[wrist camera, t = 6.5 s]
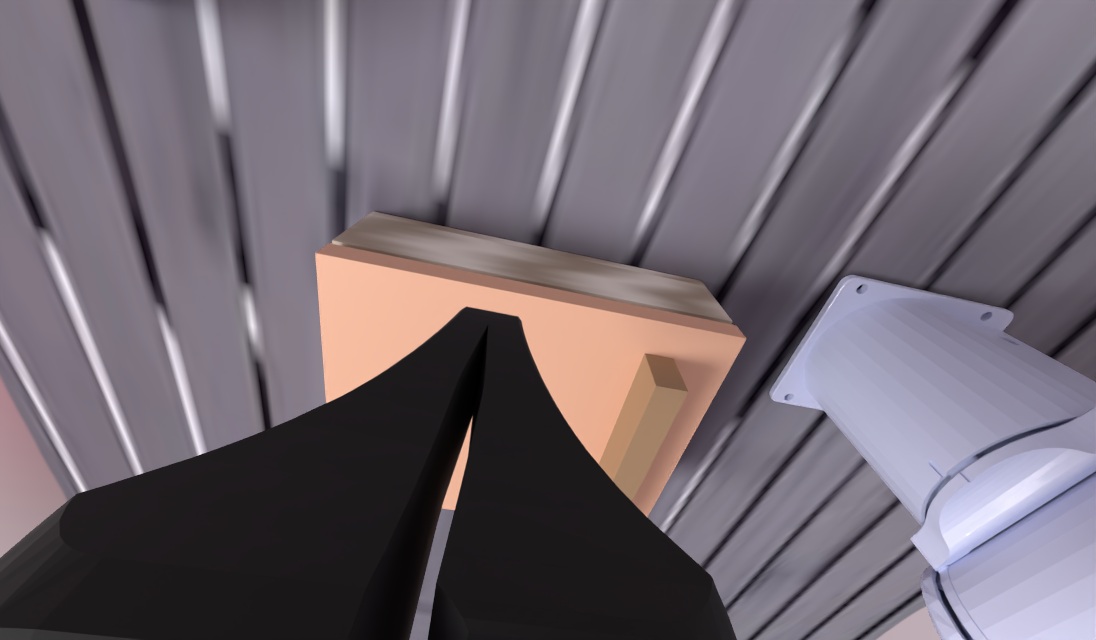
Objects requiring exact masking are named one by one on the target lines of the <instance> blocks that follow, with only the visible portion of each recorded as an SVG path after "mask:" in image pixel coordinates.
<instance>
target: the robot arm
mask: <svg viewBox="0 0 1096 640" xmlns="http://www.w3.org/2000/svg"><path fill="white" fill-rule="evenodd" d="M862 284H863V285H862ZM860 285H862V287H861V288H860V289H858V290H857V288H858V287H859V286H860ZM1013 317H1014V314H1013V313H1012V312H1011V311H1009V310H1006V309H1004V308H1000V307H996V306H991V305H987V304H982V303H978V302H973V301H969V300H964V299H960V298H955V297H951V296H946V295H942V294H937V293H933V292H928V291H924V290H919V289H915V288H910V287H906V286H901V285H897V284H893V283H888V282H884V281H879V280H875V279H870V278H866V277H861V276H857V275H848V276H846V277H844V278H843V279H841V281H840V282H839V283H838V285H837V286H836V288H835V289H834V291H833V293H832V294H831V296H830V297H829V299H828V300H827V302H826V304H825V305H824V307H823V308H822V310H821V311H820V313H819V314H818V316H817V318H816V319H815V321H814V322H813V324H812V325H811V327H810V329H809V330H808V332H807V333H806V335H805V336H804V338H803V339H802V341H801V343H800V344H799V346H798V347H797V349H796V350H795V352H794V354H793V355H792V357H791V358H790V360H789V361H788V363H787V364H786V366H785V368H784V369H783V371H782V372H781V374H780V375H779V377H778V379H777V380H776V382H775V383H774V385H773V386H772V388H771V390H770V392H769V395H770V397H771V398H772V399H773V401H776V402H781V403H786V404H792V405H797V406H803V407H808V408H814V409H819V410H824V411H825V412H826V413H827V415H828V416H829V417H830V418H831V419H832V421H833V422H834V423H835V424H836V425H837V426H838V428H839V429H840V430H841V431H842V432H843V434H844V435H845V436H846V437H847V438H848V440H849V441H850V442H851V443H852V444H853V445H854V447H855V448H856V449H857V450H858V451H859V453H860V454H861V455H862V456H863V457H864V458H865V460H866V461H867V462H868V463H869V464H870V466H871V467H872V468H873V469H874V470H875V472H876V473H877V474H878V475H879V476H880V477H881V479H882V480H883V481H884V482H885V483H886V485H887V486H888V487H889V488H890V489H891V491H892V492H893V493H894V494H895V495H896V496H897V498H898V499H899V500H900V501H901V502H902V504H903V505H904V506H905V507H906V508H907V509H908V511H909V512H910V513H911V514H912V515H913V517H914V518H915V519H916V520H917V521H918V523H919V524H920V525H921V526H922V527H921V529H920V530H919V531H918V532H917V533H915V534H914V535H913V536H912V537H911V541H912V542H913V543H914V545H915V546H916V547H917V548H918V550H919V551H920V552H921V553H922V555H923V556H924V557H925V558H926V560H927V561H928V562H929V563H930V565H931V566H929V567H928V568H926V569H925V571H924V572H923V574H922V576H921V588H922V594H923V597H924V600H925V603H926V606H927V608H928V611H929V615H930V617H931V620H932V622H933V625H934V627H935V629H936V631H937V633H938V635H939V636H940V638H941V640H1096V382H1095V381H1093V380H1091V379H1089V378H1088V377H1086V376H1084V375H1082V374H1080V373H1078V372H1077V371H1075V370H1073V369H1071V368H1069V367H1067V366H1066V365H1064V364H1062V363H1060V362H1058V361H1056V360H1054V359H1053V358H1051V357H1049V356H1047V355H1045V354H1043V353H1042V352H1040V351H1038V350H1036V349H1034V348H1032V347H1031V346H1029V345H1027V344H1025V343H1023V342H1021V341H1019V340H1018V339H1016V338H1014V337H1012V336H1010V335H1008V334H1007V333H1005V332H1003V330H1004V329H1005V328H1006V327H1007V326H1008V325H1009V324H1010V322H1011V321H1012V320H1013ZM787 394H789V395H787ZM786 395H787V396H786ZM472 416H473V417H472ZM471 419H472V425H471V434H470V442H469V451H468V458H467V462H466V467H465V471H464V475H463V479H462V483H461V487H460V491H459V495H458V499H457V503H456V507H455V511H454V515H453V519H452V523H451V527H450V531H449V535H448V539H447V543H446V547H445V551H444V555H443V559H442V563H441V567H440V571H439V575H438V579H437V583H436V589H435V596H434V602H433V609H432V615H431V622H430V628H429V635H428V640H737V639H736V636H735V633H734V630H733V628H732V625H731V622H730V619H729V616H728V614H727V612H726V610H725V607H724V605H723V603H722V600H721V598H720V596H719V594H718V591H717V589H716V586H715V584H714V581H713V578H712V576H711V575H710V574H708V573H707V572H706V571H705V570H704V569H703V568H702V567H701V566H700V565H699V564H697V563H696V562H695V561H694V560H693V559H692V558H691V557H690V556H689V555H688V554H686V553H685V552H684V551H683V550H682V549H681V548H680V547H679V546H678V545H677V544H675V543H674V542H673V541H672V540H671V539H670V538H669V537H668V536H667V535H666V534H664V533H663V532H662V531H661V530H660V529H659V528H658V527H657V526H656V525H654V524H653V523H652V522H651V521H650V520H649V519H648V518H647V517H646V516H645V515H644V514H643V513H642V511H641V510H640V509H639V508H638V507H637V506H636V505H635V504H634V503H633V502H632V501H631V500H630V499H629V498H628V497H627V496H626V495H625V494H624V493H623V492H622V491H621V490H620V489H619V488H618V486H617V485H616V484H615V483H614V482H613V481H612V480H611V478H610V477H609V476H608V475H607V474H606V472H605V471H604V470H603V469H602V468H601V466H600V465H599V464H598V463H597V462H596V460H595V459H594V458H593V457H592V456H591V455H590V453H589V452H588V451H587V450H586V448H585V447H584V445H583V444H582V443H581V441H580V440H579V439H578V437H577V436H576V435H575V433H574V432H573V430H572V429H571V427H570V426H569V424H568V423H567V421H566V420H565V418H564V417H563V415H562V413H561V412H560V410H559V408H558V407H557V405H556V403H555V402H554V400H553V398H552V396H551V394H550V392H549V391H548V389H547V387H546V385H545V383H544V381H543V379H542V377H541V375H540V373H539V370H538V368H537V366H536V363H535V361H534V359H533V357H532V354H531V352H530V349H529V346H528V343H527V340H526V337H525V334H524V330H523V326H522V321H521V320H520V318H519V317H518V316H513V315H508V314H503V313H498V312H493V311H487V310H482V309H477V308H472V307H467V306H466V307H465V308H463V309H461V310H460V311H459V312H458V313H457V314H456V315H455V316H454V317H453V318H452V319H451V320H450V321H449V322H448V323H447V324H446V325H444V326H443V327H442V328H441V329H440V330H439V331H438V332H436V333H435V334H434V335H433V336H431V337H430V338H429V339H428V340H426V341H425V342H424V343H423V344H422V345H420V346H419V347H418V348H416V349H415V350H414V351H412V352H411V353H410V354H408V355H407V356H405V357H404V358H402V359H401V360H400V361H398V362H397V363H395V364H394V365H392V366H391V367H390V368H388V369H387V370H385V371H383V372H382V373H380V374H379V375H377V376H376V377H374V378H372V379H371V380H369V381H367V382H366V383H364V384H362V385H360V386H359V387H357V388H355V389H353V390H352V391H350V392H348V393H346V394H344V395H343V396H341V397H339V398H336V399H334V400H332V401H330V402H328V403H326V404H324V405H322V406H319V407H317V408H315V409H313V410H311V411H309V412H307V413H305V414H302V415H300V416H298V417H296V418H294V419H292V420H289V421H287V422H285V423H282V424H280V425H278V426H275V427H273V428H270V429H268V430H265V431H263V432H260V433H258V434H255V435H253V436H250V437H248V438H245V439H242V440H240V441H237V442H234V443H232V444H229V445H226V446H224V447H221V448H218V449H216V450H213V451H210V452H207V453H204V454H201V455H199V456H196V457H193V458H190V459H187V460H184V461H181V462H177V463H174V464H171V465H168V466H165V467H162V468H159V469H156V470H152V471H149V472H146V473H143V474H140V475H137V476H134V477H131V478H127V479H124V480H121V481H118V482H115V483H112V484H109V485H106V486H102V487H99V488H95V489H92V490H89V491H85V492H82V493H79V494H76V495H75V496H74V497H72V498H71V499H70V500H69V501H67V502H66V503H65V504H64V505H63V506H61V507H60V508H59V509H57V510H56V511H55V512H54V513H53V514H51V515H50V516H49V517H48V518H47V519H45V520H44V521H43V522H42V523H41V524H40V525H38V526H37V527H36V528H35V529H33V530H32V531H31V532H30V533H29V534H28V535H26V536H25V537H24V538H23V539H22V540H21V541H20V542H18V543H17V544H16V545H15V546H14V547H12V548H11V549H10V550H9V551H8V552H7V553H6V554H4V555H3V556H2V557H1V558H0V640H409V638H410V634H411V630H412V625H413V621H414V617H415V613H416V609H417V604H418V600H419V596H420V592H421V588H422V584H423V579H424V575H425V571H426V567H427V563H428V559H429V555H430V551H431V546H432V542H433V538H434V534H435V530H436V526H437V522H438V518H439V515H440V512H441V508H442V505H443V502H444V499H445V496H446V493H447V490H448V487H449V484H450V481H451V478H452V475H453V472H454V469H455V466H456V463H457V460H458V458H459V455H460V452H461V449H462V446H463V443H464V440H465V437H466V434H467V431H468V428H469V425H470V422H471Z"/></svg>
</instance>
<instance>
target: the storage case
mask: <svg viewBox="0 0 1096 640" xmlns="http://www.w3.org/2000/svg"><path fill="white" fill-rule="evenodd" d="M332 244H335V245H340V246H345V247H350V248H355V249H360V250H365V251H370V252H375V253H380V254H385V255H390V256H395V257H400V258H405V259H410V260H415V261H420V262H425V263H430V264H435V265H440V266H445V267H449V268H454V269H459V270H464V271H469V272H474V273H479V274H484V275H489V276H494V277H499V278H504V279H509V280H514V281H519V282H524V283H529V284H534V285H539V286H544V287H549V288H554V289H559V290H564V291H568V292H573V293H578V294H583V295H588V296H593V297H598V298H603V299H608V300H613V301H618V302H623V303H628V304H633V305H638V306H643V307H648V308H653V309H658V310H663V311H668V312H673V313H678V314H683V315H687V316H692V317H697V318H702V319H707V320H712V321H717V322H722V323H727V324H732V322H733V321H732V320H731V319H730V317H729V316H728V315H727V313H726V312H725V311H724V310H723V308H722V307H721V306H720V304H719V303H718V302H717V301H716V299H715V298H714V297H713V295H712V294H711V293H710V291H709V290H708V289H707V288H706V286H705V285H704V284H703V282H702V281H699V280H695V279H690V278H685V277H680V276H676V275H671V274H666V273H662V272H657V271H652V270H647V269H643V268H638V267H633V266H629V265H624V264H619V263H614V262H610V261H605V260H600V259H596V258H591V257H586V256H581V255H577V254H572V253H567V252H563V251H558V250H553V249H548V248H544V247H539V246H534V245H530V244H525V243H520V242H515V241H511V240H506V239H501V238H497V237H492V236H487V235H482V234H478V233H473V232H468V231H464V230H459V229H454V228H449V227H445V226H440V225H435V224H430V223H426V222H421V221H416V220H412V219H407V218H402V217H397V216H393V215H388V214H383V213H379V212H374V211H373V212H371V213H370V214H369V215H367V216H366V217H364V218H363V219H361V220H360V221H359V222H357V223H356V224H354V225H353V226H352V227H350V228H349V229H347V230H346V231H345V232H343V233H342V234H340V235H339V236H338V237H336V238H335V239H333V240H332Z"/></svg>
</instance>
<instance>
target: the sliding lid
mask: <svg viewBox="0 0 1096 640" xmlns="http://www.w3.org/2000/svg"><path fill="white" fill-rule="evenodd" d="M315 255H316V268H317V282H318V296H319V310H320V324H321V337H322V351H323V365H324V379H325V392H326V403H328V402H330V401H332V400H334V399H336V398H339V397H341V396H343V395H344V394H346V393H348V392H350V391H352V390H353V389H355V388H357V387H359V386H360V385H362V384H364V383H366V382H367V381H369V380H371V379H372V378H374V377H376V376H377V375H379V374H380V373H382V372H383V371H385V370H387V369H388V368H390V367H391V366H392V365H394V364H395V363H397V362H398V361H400V360H401V359H402V358H404V357H405V356H407V355H408V354H410V353H411V352H412V351H414V350H415V349H416V348H418V347H419V346H420V345H422V344H423V343H424V342H425V341H426V340H428V339H429V338H430V337H431V336H433V335H434V334H435V333H436V332H438V331H439V330H440V329H441V328H442V327H443V326H444V325H446V324H447V323H448V322H449V321H450V320H451V319H452V318H453V317H454V316H455V315H456V314H457V313H458V312H459V311H460V310H461V309H463V308H465V307H466V306H467V307H472V308H477V309H482V310H487V311H493V312H498V313H503V314H508V315H513V316H518V317H519V318H520V320H521V321H522V326H523V330H524V334H525V337H526V340H527V343H528V346H529V349H530V352H531V354H532V357H533V359H534V361H535V363H536V366H537V368H538V370H539V373H540V375H541V377H542V379H543V381H544V383H545V385H546V387H547V389H548V391H549V392H550V394H551V396H552V398H553V400H554V402H555V403H556V405H557V407H558V408H559V410H560V412H561V413H562V415H563V417H564V418H565V420H566V421H567V423H568V424H569V426H570V427H571V429H572V430H573V432H574V433H575V435H576V436H577V437H578V439H579V440H580V441H581V443H582V444H583V445H584V447H585V448H586V450H587V451H588V452H589V453H590V455H591V456H592V457H593V458H594V459H595V460H596V462H597V463H598V464H599V465H600V466H601V468H602V469H603V470H604V471H605V472H606V474H607V475H608V476H609V477H610V478H611V480H612V481H613V482H614V483H615V484H616V485H617V486H618V488H619V489H620V490H621V491H622V492H623V493H624V494H625V495H626V496H627V497H628V498H629V499H630V500H631V501H632V502H633V503H634V504H635V505H636V506H637V507H638V508H639V509H640V510H641V511H642V513H643V514H644V515H645V516H646V517H648V515H649V513H650V512H651V510H652V508H653V506H654V504H655V503H656V501H657V499H658V497H659V495H660V494H661V492H662V490H663V488H664V486H665V485H666V483H667V481H668V479H669V477H670V476H671V474H672V472H673V470H674V469H675V467H676V465H677V463H678V461H679V460H680V458H681V456H682V454H683V452H684V451H685V449H686V447H687V445H688V443H689V442H690V440H691V438H692V436H693V434H694V433H695V431H696V429H697V427H698V425H699V424H700V422H701V420H702V418H703V416H704V415H705V413H706V411H707V409H708V407H709V406H710V404H711V402H712V400H713V398H714V397H715V395H716V393H717V391H718V389H719V388H720V386H721V384H722V382H723V380H724V379H725V377H726V375H727V373H728V371H729V370H730V368H731V366H732V364H733V362H734V361H735V359H736V357H737V355H738V353H739V352H740V350H741V348H742V346H743V344H744V343H745V341H746V339H747V338H746V337H745V336H744V335H743V333H742V332H741V331H740V329H739V328H738V327H737V326H736V325H732V324H727V323H722V322H717V321H712V320H707V319H702V318H697V317H692V316H687V315H683V314H678V313H673V312H668V311H663V310H658V309H653V308H648V307H643V306H638V305H633V304H628V303H623V302H618V301H613V300H608V299H603V298H598V297H593V296H588V295H583V294H578V293H573V292H568V291H564V290H559V289H554V288H549V287H544V286H539V285H534V284H529V283H524V282H519V281H514V280H509V279H504V278H499V277H494V276H489V275H484V274H479V273H474V272H469V271H464V270H459V269H454V268H449V267H445V266H440V265H435V264H430V263H425V262H420V261H415V260H410V259H405V258H400V257H395V256H390V255H385V254H380V253H375V252H370V251H365V250H360V249H355V248H350V247H345V246H340V245H335V244H330V243H329V244H327V245H326V246H325V247H323V248H322V249H320V250H319V251H318V252H316V253H315ZM472 417H473V416H472ZM471 425H472V419H471V422H470V425H469V428H468V431H467V434H466V437H465V440H464V443H463V446H462V449H461V452H460V455H459V458H458V460H457V463H456V466H455V469H454V472H453V475H452V478H451V481H450V484H449V487H448V490H447V493H446V496H445V499H444V502H443V505H442V508H443V509H450V510H455V507H456V503H457V499H458V495H459V491H460V487H461V483H462V479H463V475H464V471H465V467H466V462H467V458H468V451H469V442H470V434H471Z"/></svg>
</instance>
